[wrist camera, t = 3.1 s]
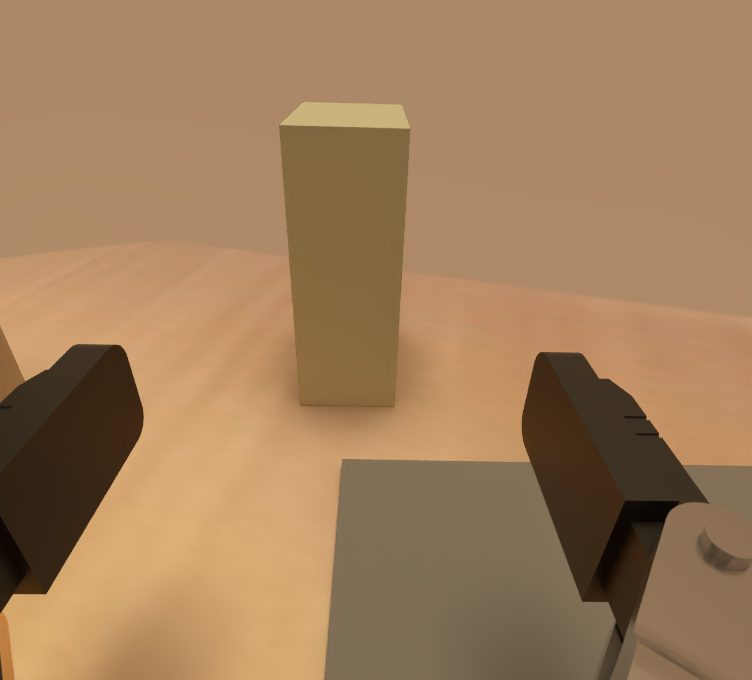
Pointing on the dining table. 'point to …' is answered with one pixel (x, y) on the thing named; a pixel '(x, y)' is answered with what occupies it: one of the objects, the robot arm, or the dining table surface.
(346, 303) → the tall tan pillar block
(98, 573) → the dining table surface
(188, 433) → the dining table surface
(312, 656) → the dining table surface
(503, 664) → the rubber mat
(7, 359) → the travel mug
